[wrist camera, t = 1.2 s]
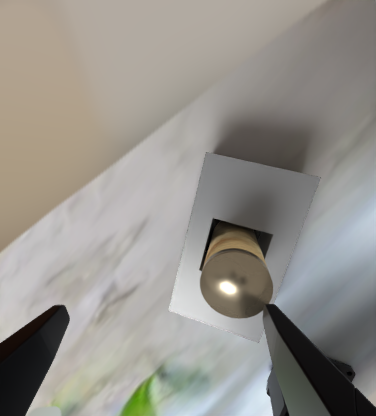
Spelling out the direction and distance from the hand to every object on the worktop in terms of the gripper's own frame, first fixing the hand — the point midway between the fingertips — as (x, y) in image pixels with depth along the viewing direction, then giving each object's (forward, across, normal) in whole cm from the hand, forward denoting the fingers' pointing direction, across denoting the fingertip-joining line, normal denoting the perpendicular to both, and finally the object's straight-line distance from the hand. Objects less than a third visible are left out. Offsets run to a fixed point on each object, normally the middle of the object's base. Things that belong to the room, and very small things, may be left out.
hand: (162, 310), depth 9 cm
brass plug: (+11, -5, +3) cm, 12 cm away
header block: (+11, -5, +3) cm, 12 cm away
